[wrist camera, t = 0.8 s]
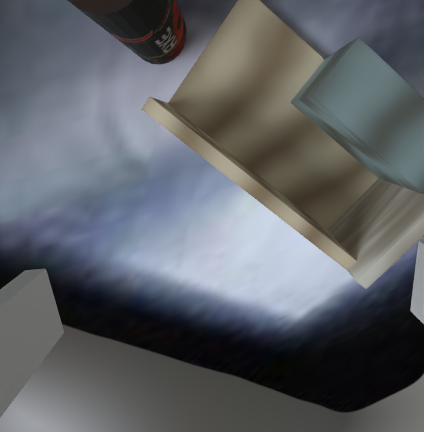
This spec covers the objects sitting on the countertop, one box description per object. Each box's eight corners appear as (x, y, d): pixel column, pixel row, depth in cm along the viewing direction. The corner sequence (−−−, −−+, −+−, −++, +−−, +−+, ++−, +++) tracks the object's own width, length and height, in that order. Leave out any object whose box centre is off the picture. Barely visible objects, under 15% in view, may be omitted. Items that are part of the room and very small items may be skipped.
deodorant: (142, -15, 29) (63, -146, 15) (196, 18, 30) (169, -79, 16) (119, 45, 31) (27, -22, 17) (170, 75, 32) (124, 34, 17)
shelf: (163, 113, 33) (134, 108, 22) (245, -8, 29) (256, -82, 19) (325, 241, 36) (366, 289, 26) (416, 147, 33) (506, 158, 22)
